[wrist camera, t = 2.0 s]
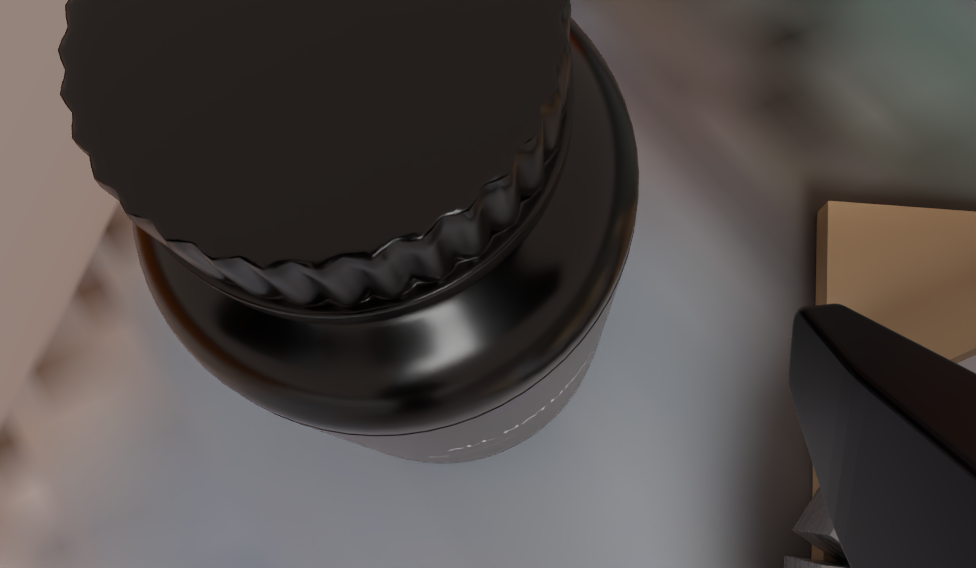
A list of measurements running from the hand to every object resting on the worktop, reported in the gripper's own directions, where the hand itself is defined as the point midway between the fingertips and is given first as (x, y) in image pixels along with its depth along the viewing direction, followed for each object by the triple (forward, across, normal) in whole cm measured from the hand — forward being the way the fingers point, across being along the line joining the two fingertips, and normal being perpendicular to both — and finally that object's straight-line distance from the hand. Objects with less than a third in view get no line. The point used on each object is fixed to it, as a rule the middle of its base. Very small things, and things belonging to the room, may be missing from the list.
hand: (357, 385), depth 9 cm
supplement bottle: (+9, 0, +5) cm, 11 cm away
